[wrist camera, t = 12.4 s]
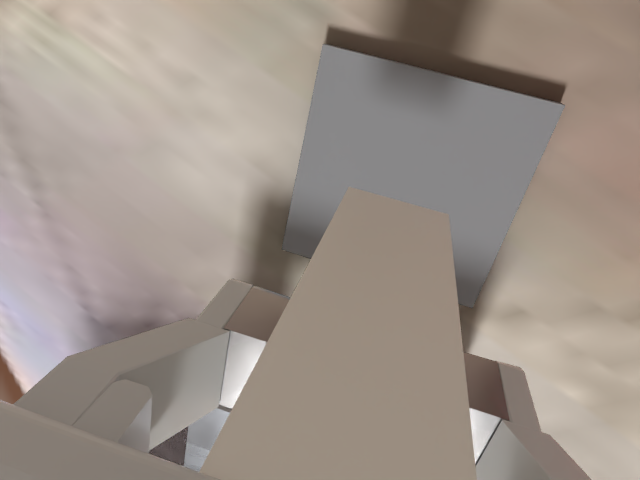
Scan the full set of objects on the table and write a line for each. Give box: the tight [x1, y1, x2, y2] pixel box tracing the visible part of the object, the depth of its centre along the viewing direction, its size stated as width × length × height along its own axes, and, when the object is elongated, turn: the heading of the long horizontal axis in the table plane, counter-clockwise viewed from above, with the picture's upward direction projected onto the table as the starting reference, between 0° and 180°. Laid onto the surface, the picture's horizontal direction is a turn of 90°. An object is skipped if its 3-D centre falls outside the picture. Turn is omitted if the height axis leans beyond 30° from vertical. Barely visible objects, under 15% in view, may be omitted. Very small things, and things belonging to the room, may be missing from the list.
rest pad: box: [282, 44, 565, 308], centre depth 19 cm, size 9×9×1 cm
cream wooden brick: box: [199, 187, 477, 480], centre depth 8 cm, size 3×3×13 cm
